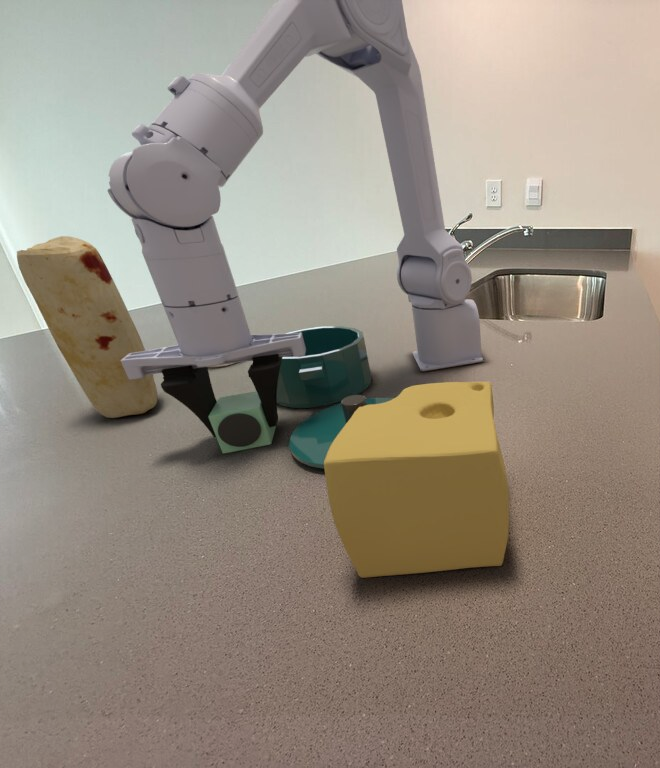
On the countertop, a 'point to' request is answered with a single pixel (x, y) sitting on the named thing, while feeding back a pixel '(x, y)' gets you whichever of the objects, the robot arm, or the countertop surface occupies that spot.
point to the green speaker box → (240, 423)
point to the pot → (324, 368)
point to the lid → (325, 429)
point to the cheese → (421, 482)
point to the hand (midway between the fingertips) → (246, 427)
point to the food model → (88, 323)
